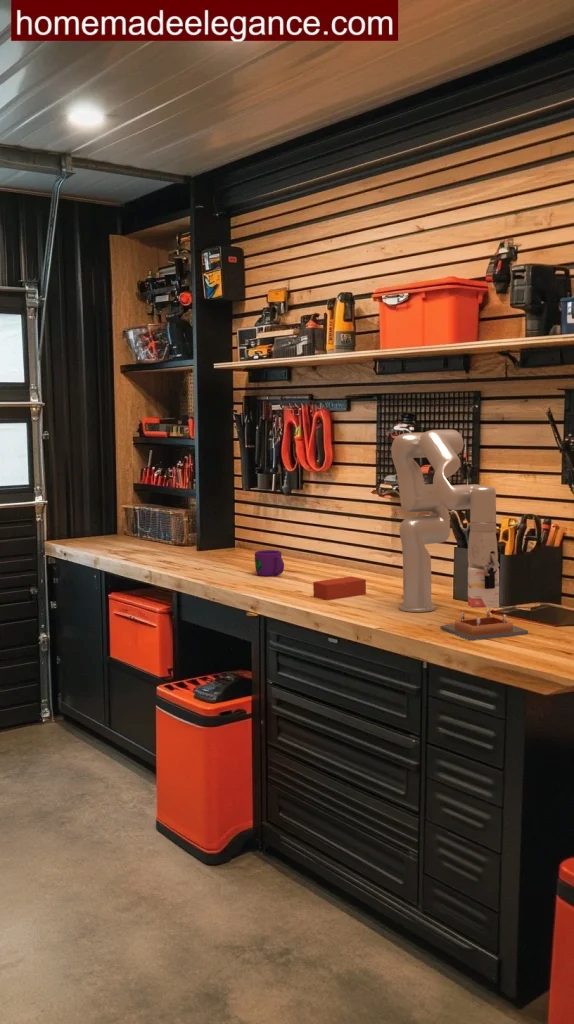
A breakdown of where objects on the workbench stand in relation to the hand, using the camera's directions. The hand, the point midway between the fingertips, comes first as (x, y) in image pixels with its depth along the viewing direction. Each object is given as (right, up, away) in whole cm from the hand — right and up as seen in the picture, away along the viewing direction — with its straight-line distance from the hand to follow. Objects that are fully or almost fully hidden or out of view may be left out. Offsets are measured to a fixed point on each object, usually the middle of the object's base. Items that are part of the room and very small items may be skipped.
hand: (483, 586), depth 273 cm
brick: (-40, -9, +64) cm, 76 cm away
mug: (-65, -5, +113) cm, 131 cm away
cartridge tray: (0, -14, +1) cm, 14 cm away
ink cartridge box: (0, -6, 0) cm, 6 cm away
